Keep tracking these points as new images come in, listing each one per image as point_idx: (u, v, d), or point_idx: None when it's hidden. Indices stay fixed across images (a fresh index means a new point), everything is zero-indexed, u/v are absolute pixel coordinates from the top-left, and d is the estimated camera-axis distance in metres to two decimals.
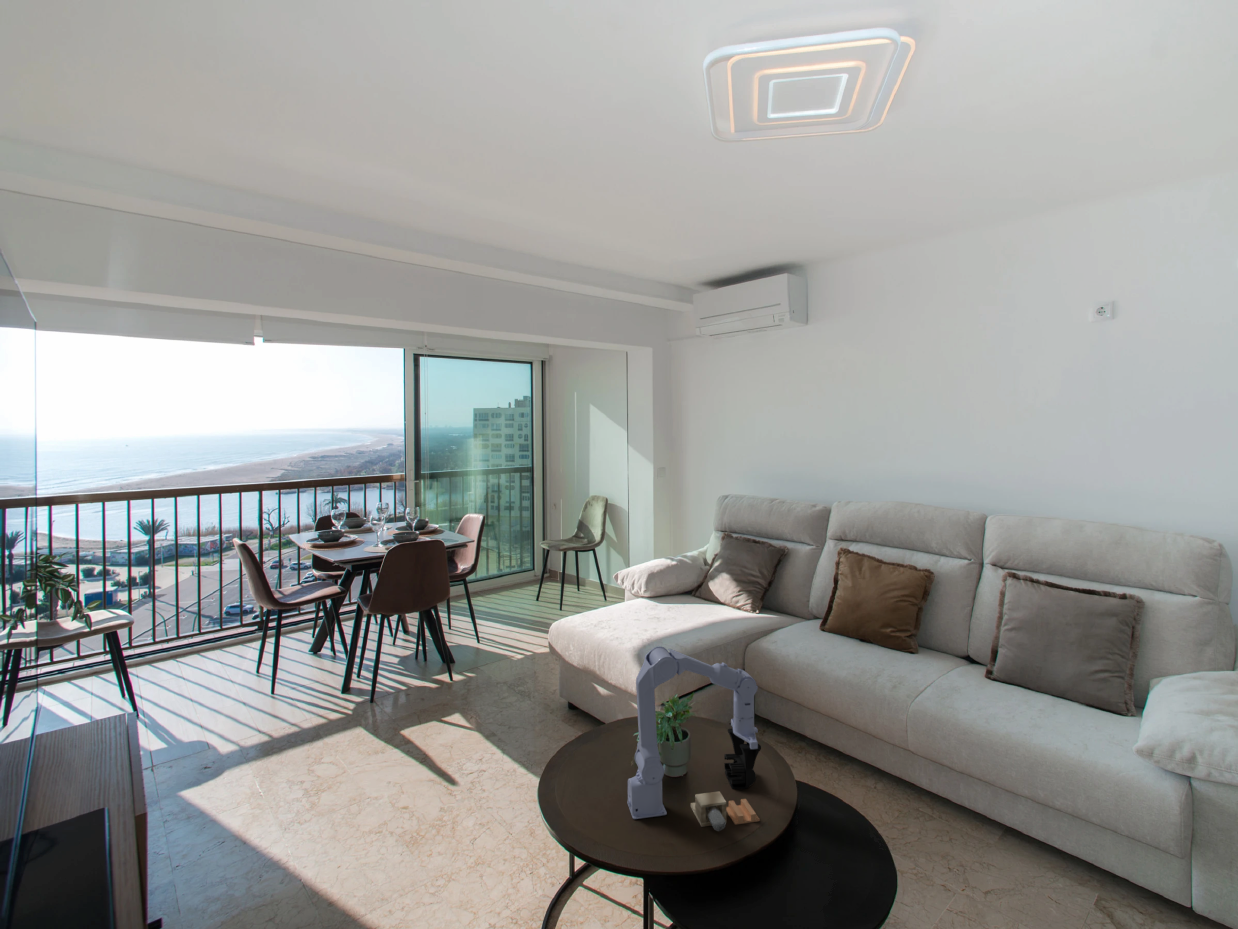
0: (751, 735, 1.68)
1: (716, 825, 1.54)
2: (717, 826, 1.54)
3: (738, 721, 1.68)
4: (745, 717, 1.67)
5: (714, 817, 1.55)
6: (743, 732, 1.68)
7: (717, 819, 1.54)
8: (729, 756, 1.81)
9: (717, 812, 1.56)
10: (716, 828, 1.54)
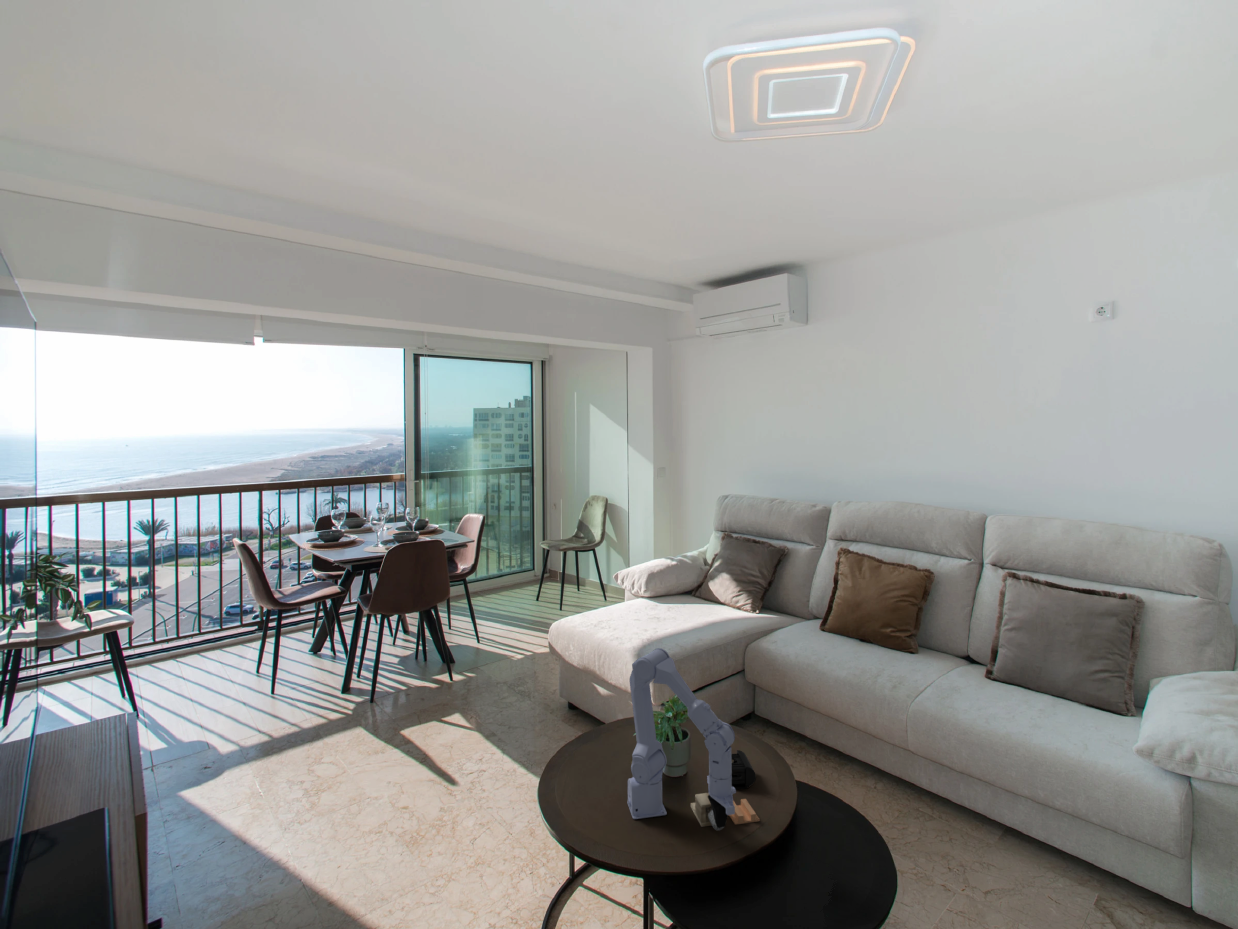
0: (728, 797, 1.50)
1: (716, 825, 1.54)
2: None
3: (714, 781, 1.51)
4: (713, 775, 1.51)
5: None
6: (719, 794, 1.50)
7: None
8: None
9: None
10: (716, 828, 1.54)
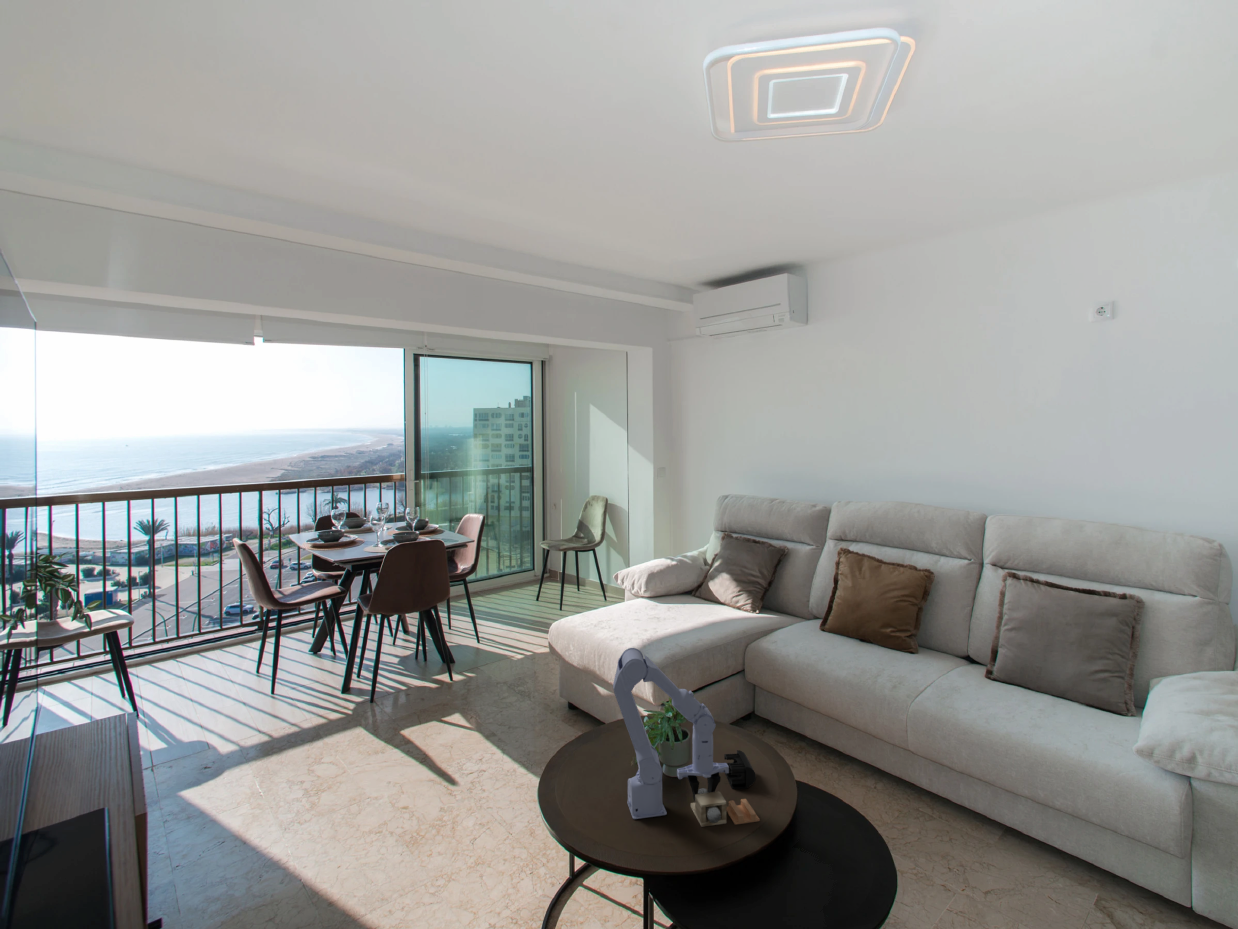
0: (694, 771, 1.65)
1: (711, 817, 1.57)
2: (712, 818, 1.57)
3: None
4: (702, 755, 1.63)
5: (709, 809, 1.58)
6: (692, 764, 1.67)
7: (712, 811, 1.57)
8: (729, 756, 1.81)
9: None
10: (711, 820, 1.57)
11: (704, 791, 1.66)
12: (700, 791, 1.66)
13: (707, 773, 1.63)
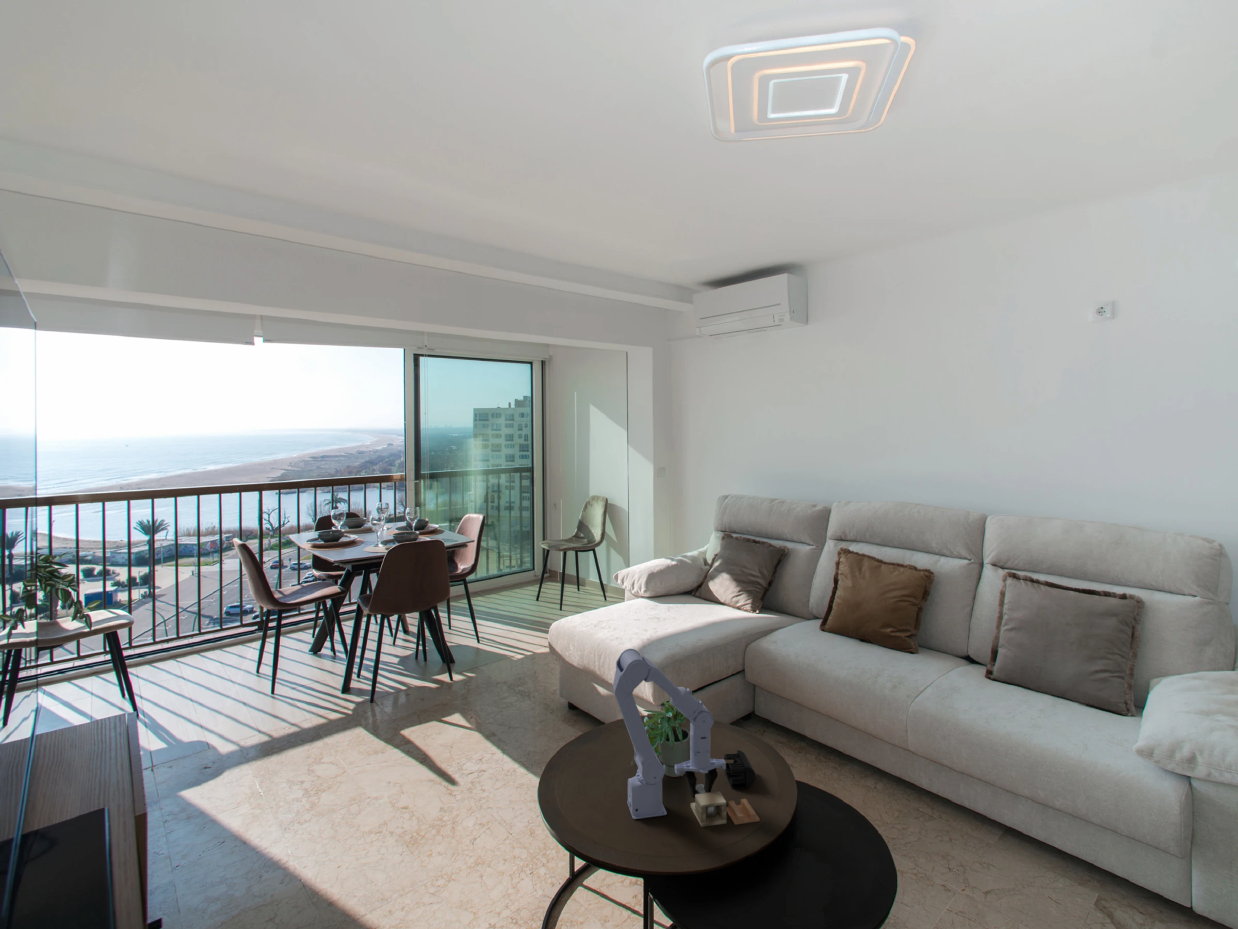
0: (691, 767, 1.67)
1: (709, 813, 1.59)
2: (710, 813, 1.59)
3: None
4: (701, 751, 1.65)
5: None
6: (690, 760, 1.69)
7: (709, 806, 1.59)
8: (729, 756, 1.81)
9: None
10: (709, 815, 1.59)
11: (701, 787, 1.68)
12: (698, 787, 1.68)
13: (704, 769, 1.65)
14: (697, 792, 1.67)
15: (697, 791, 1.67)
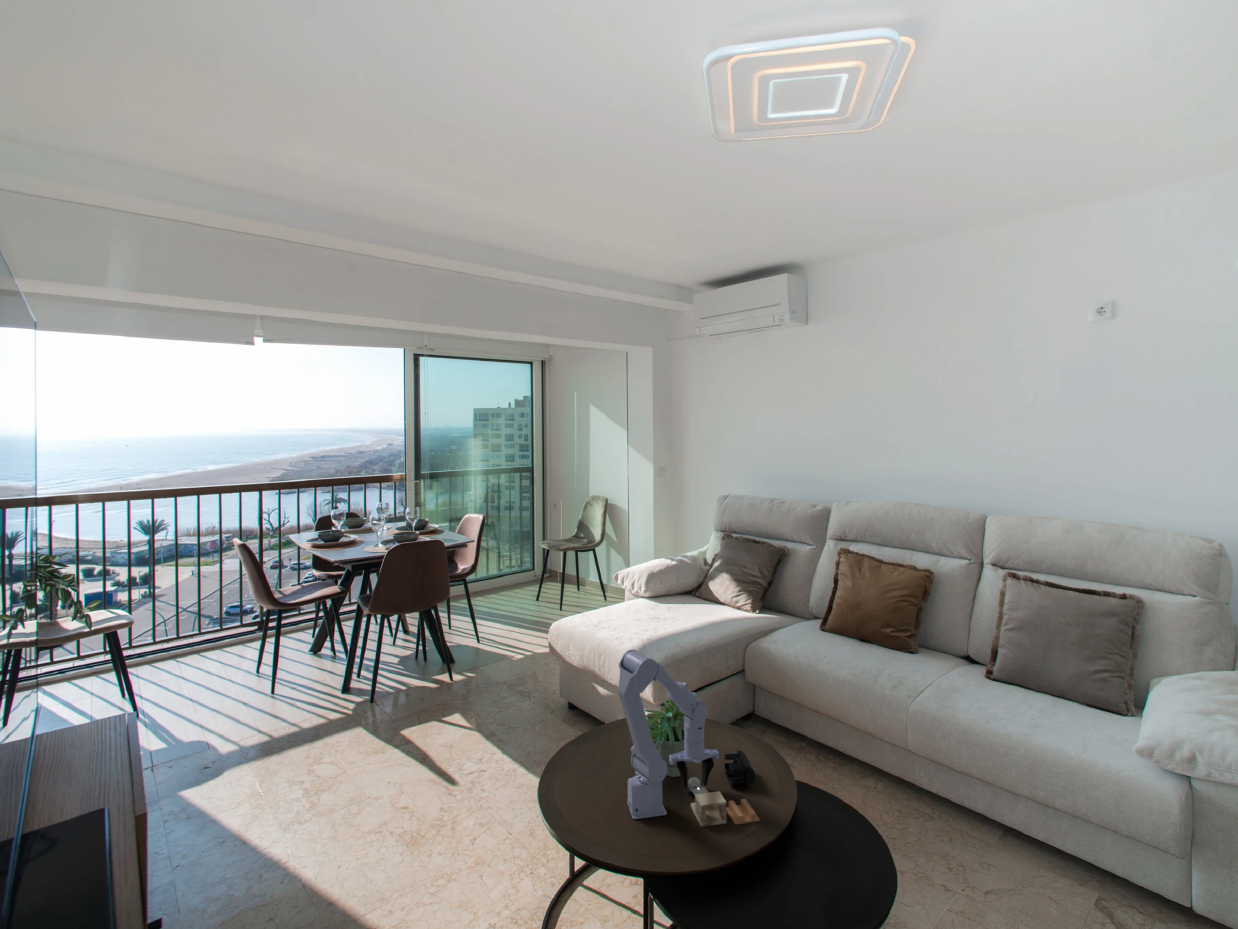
0: (685, 757, 1.72)
1: None
2: None
3: None
4: (698, 741, 1.71)
5: (700, 792, 1.66)
6: None
7: None
8: (729, 756, 1.81)
9: (703, 788, 1.67)
10: None
11: (695, 779, 1.73)
12: (691, 779, 1.74)
13: (698, 759, 1.71)
14: (691, 784, 1.72)
15: (691, 783, 1.72)
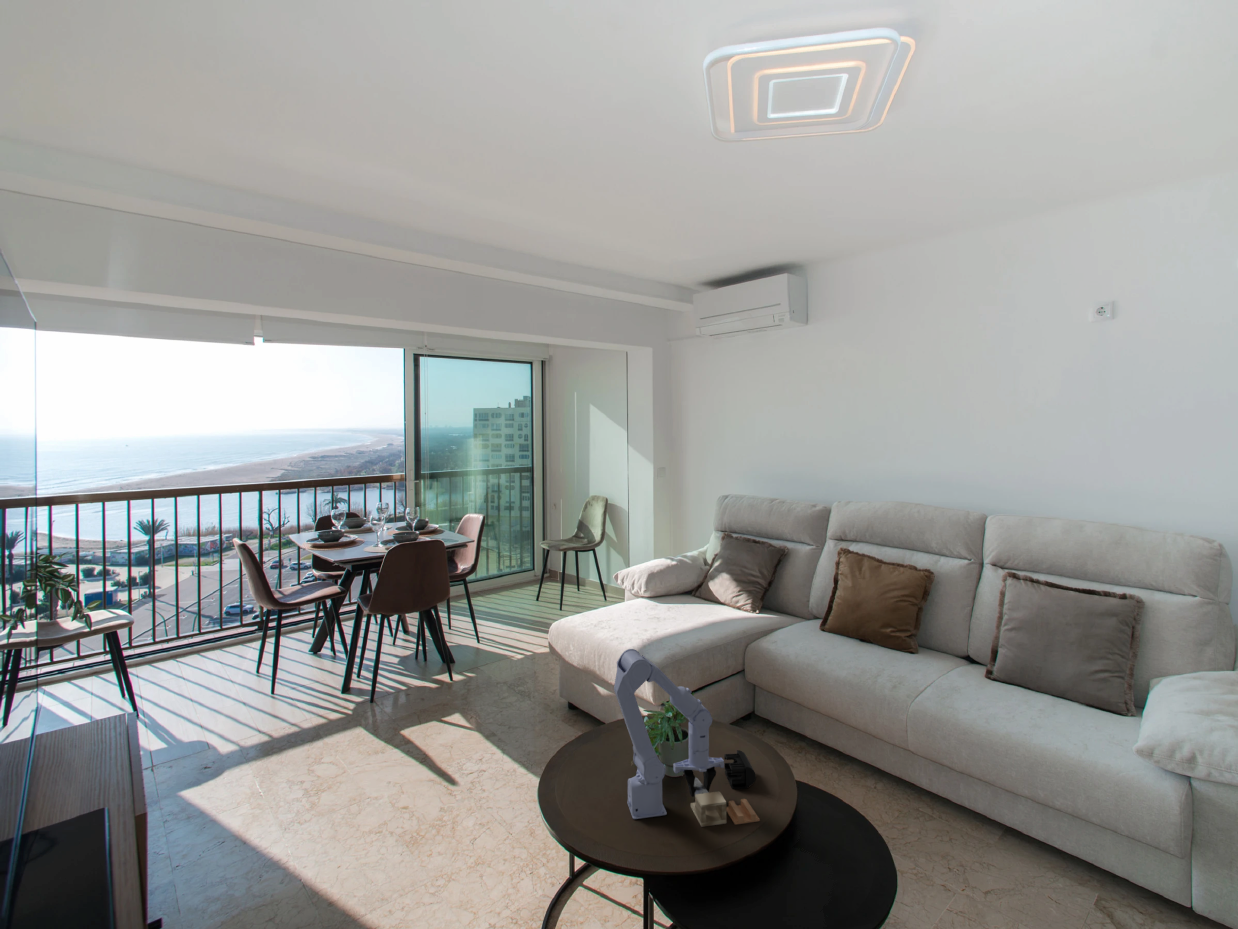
0: (690, 766, 1.68)
1: None
2: None
3: None
4: (700, 750, 1.67)
5: (700, 792, 1.66)
6: None
7: None
8: (729, 756, 1.81)
9: (703, 788, 1.67)
10: None
11: (695, 779, 1.73)
12: None
13: (703, 767, 1.67)
14: None
15: None
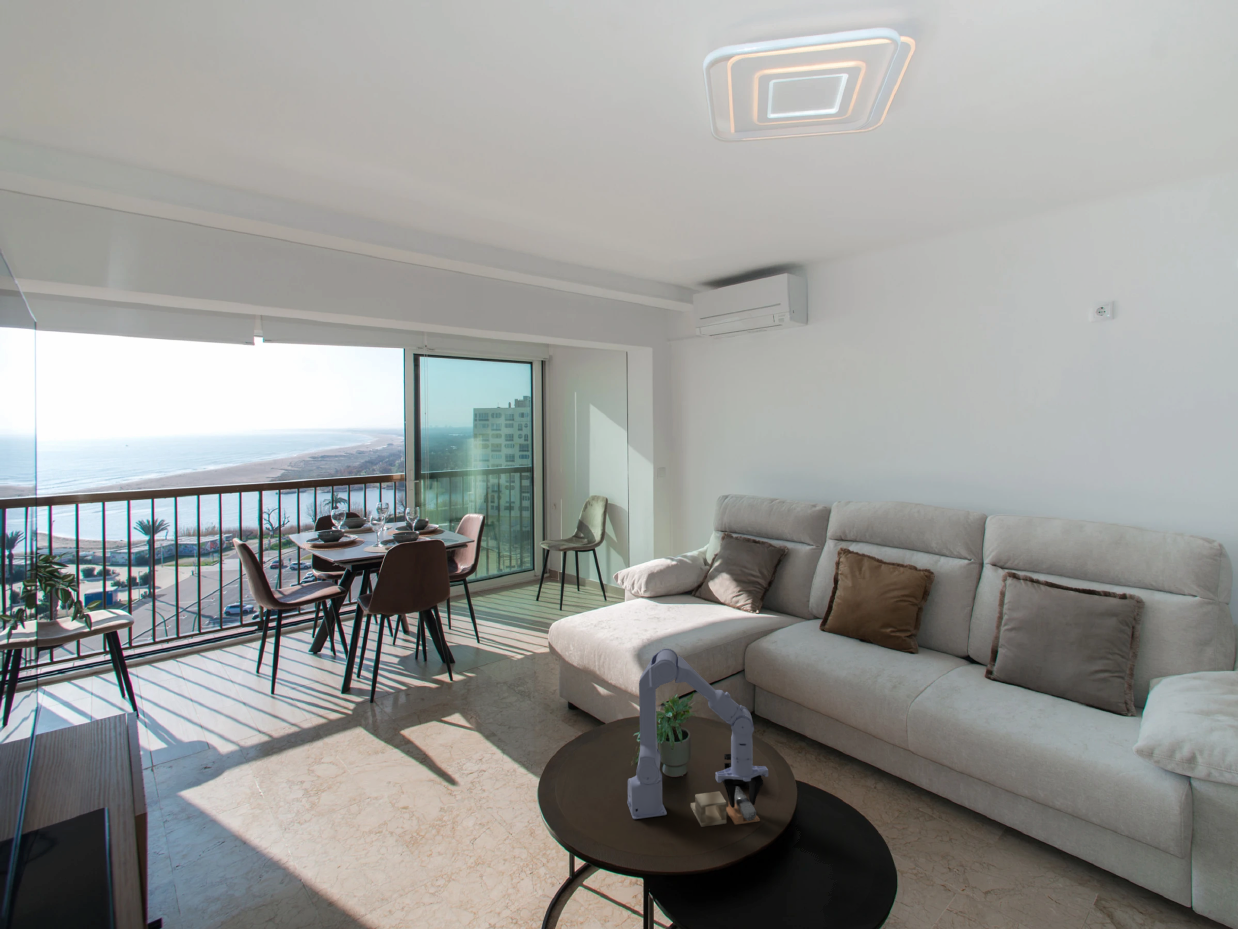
0: (733, 775, 1.60)
1: (747, 816, 1.57)
2: (748, 816, 1.57)
3: None
4: (740, 758, 1.59)
5: (744, 808, 1.58)
6: (731, 767, 1.63)
7: (747, 809, 1.57)
8: (729, 756, 1.81)
9: (746, 802, 1.59)
10: (747, 818, 1.57)
11: (736, 789, 1.65)
12: None
13: (747, 777, 1.59)
14: None
15: None
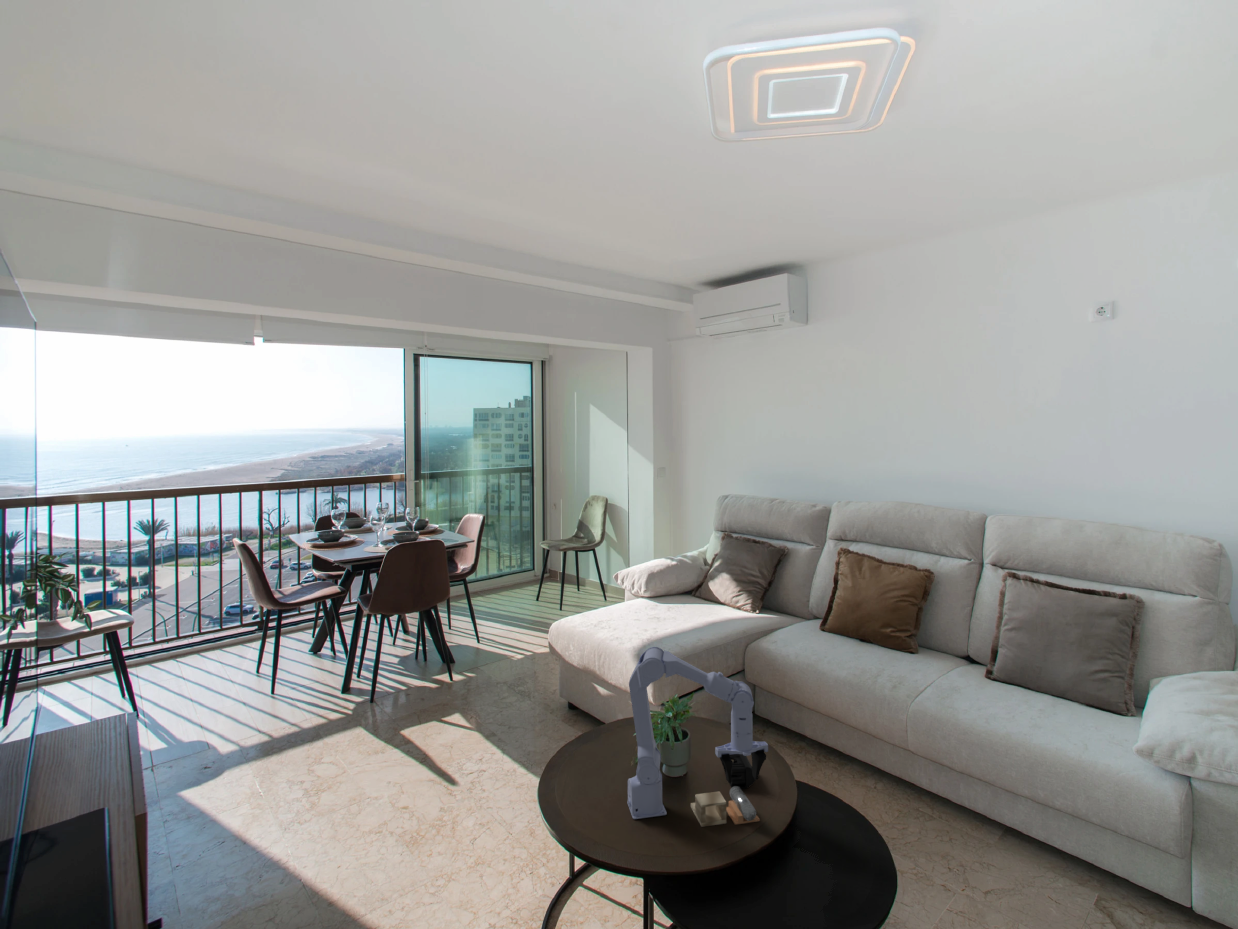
0: (733, 750, 1.60)
1: (747, 816, 1.57)
2: (748, 816, 1.57)
3: None
4: (740, 732, 1.59)
5: (744, 808, 1.58)
6: (731, 742, 1.62)
7: (747, 809, 1.57)
8: None
9: (746, 802, 1.59)
10: (747, 818, 1.57)
11: (736, 789, 1.65)
12: (733, 790, 1.66)
13: (747, 751, 1.59)
14: (733, 795, 1.64)
15: (733, 794, 1.64)
